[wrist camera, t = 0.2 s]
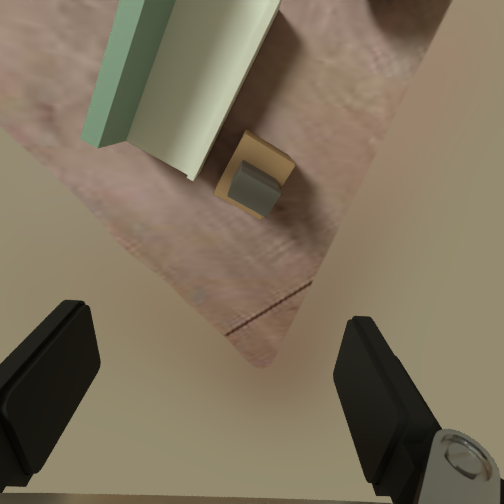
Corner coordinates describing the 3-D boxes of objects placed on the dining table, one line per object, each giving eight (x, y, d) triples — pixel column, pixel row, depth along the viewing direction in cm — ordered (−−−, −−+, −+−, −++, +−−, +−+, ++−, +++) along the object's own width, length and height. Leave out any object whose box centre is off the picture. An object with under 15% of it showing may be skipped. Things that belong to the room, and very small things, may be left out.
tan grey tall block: (246, 128, 35) (243, 139, 23) (287, 154, 36) (305, 177, 24) (219, 179, 37) (205, 212, 26) (259, 201, 39) (263, 242, 27)
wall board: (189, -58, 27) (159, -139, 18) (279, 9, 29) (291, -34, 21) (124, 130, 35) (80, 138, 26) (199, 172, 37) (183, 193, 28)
